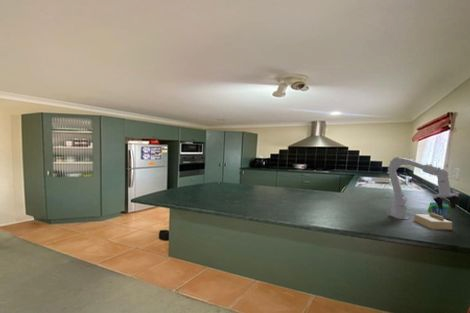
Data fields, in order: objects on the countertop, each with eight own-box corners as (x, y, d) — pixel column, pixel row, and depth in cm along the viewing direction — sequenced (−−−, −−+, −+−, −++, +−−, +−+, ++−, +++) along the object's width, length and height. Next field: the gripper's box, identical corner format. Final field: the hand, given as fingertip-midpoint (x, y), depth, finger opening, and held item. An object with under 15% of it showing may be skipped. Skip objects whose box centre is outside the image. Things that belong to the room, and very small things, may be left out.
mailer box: (413, 220, 162) (414, 214, 162) (431, 221, 161) (432, 215, 161) (431, 228, 146) (432, 222, 146) (451, 229, 145) (452, 223, 145)
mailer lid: (414, 214, 162) (414, 210, 162) (432, 215, 161) (432, 211, 161) (432, 222, 146) (432, 217, 146) (452, 223, 145) (452, 218, 145)
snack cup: (433, 219, 165) (434, 205, 165) (421, 215, 176) (422, 202, 175) (455, 220, 165) (456, 206, 165) (442, 215, 176) (443, 202, 175)
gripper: (437, 189, 148) (440, 210, 147) (461, 187, 147) (464, 208, 146) (428, 188, 155) (431, 208, 154) (451, 186, 154) (454, 206, 153)
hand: (447, 208), depth 151 cm, fingers open, 7 cm apart
